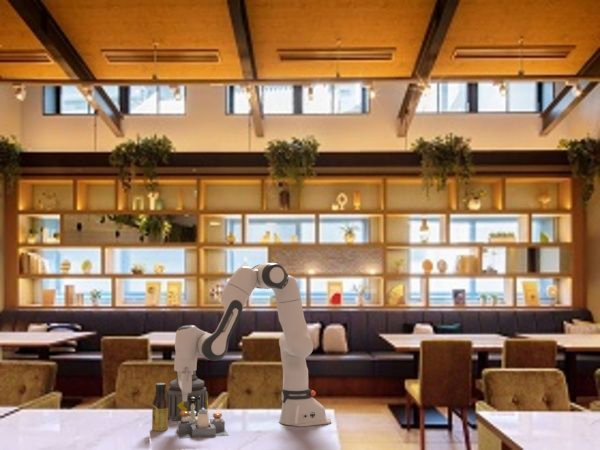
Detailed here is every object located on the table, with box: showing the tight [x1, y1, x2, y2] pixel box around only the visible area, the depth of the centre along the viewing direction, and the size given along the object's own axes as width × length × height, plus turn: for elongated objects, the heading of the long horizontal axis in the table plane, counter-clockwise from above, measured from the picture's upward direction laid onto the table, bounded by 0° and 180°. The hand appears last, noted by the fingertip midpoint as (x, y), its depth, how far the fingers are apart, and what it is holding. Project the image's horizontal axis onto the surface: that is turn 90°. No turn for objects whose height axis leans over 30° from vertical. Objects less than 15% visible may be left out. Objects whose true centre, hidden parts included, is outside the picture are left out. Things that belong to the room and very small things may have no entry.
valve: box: [187, 396, 200, 424], centre depth 280 cm, size 7×7×12 cm
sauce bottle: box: [151, 382, 169, 432], centre depth 267 cm, size 7×6×20 cm
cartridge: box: [196, 408, 210, 428], centre depth 259 cm, size 4×4×10 cm
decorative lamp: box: [165, 371, 209, 422], centre depth 298 cm, size 19×19×30 cm
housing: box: [176, 418, 229, 440], centre depth 261 cm, size 19×15×5 cm
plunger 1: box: [180, 411, 190, 423], centre depth 264 cm, size 4×4×6 cm
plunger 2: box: [212, 412, 223, 421], centre depth 267 cm, size 4×4×6 cm
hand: (184, 400), depth 264 cm, fingers closed
